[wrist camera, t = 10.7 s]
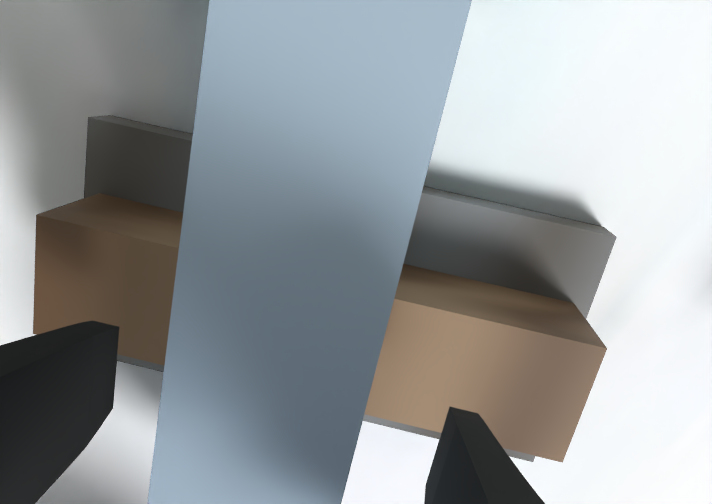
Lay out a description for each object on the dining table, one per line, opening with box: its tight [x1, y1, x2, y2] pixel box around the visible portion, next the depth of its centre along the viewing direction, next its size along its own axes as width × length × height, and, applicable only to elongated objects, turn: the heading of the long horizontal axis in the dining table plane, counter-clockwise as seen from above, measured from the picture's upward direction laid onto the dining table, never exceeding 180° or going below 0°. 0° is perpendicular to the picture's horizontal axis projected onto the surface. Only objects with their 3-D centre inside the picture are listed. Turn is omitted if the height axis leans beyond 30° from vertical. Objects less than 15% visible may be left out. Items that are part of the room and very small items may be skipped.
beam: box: [148, 0, 472, 504], centre depth 12 cm, size 18×4×5 cm, turn 168°
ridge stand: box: [33, 115, 616, 462], centre depth 17 cm, size 16×8×4 cm, turn 78°
